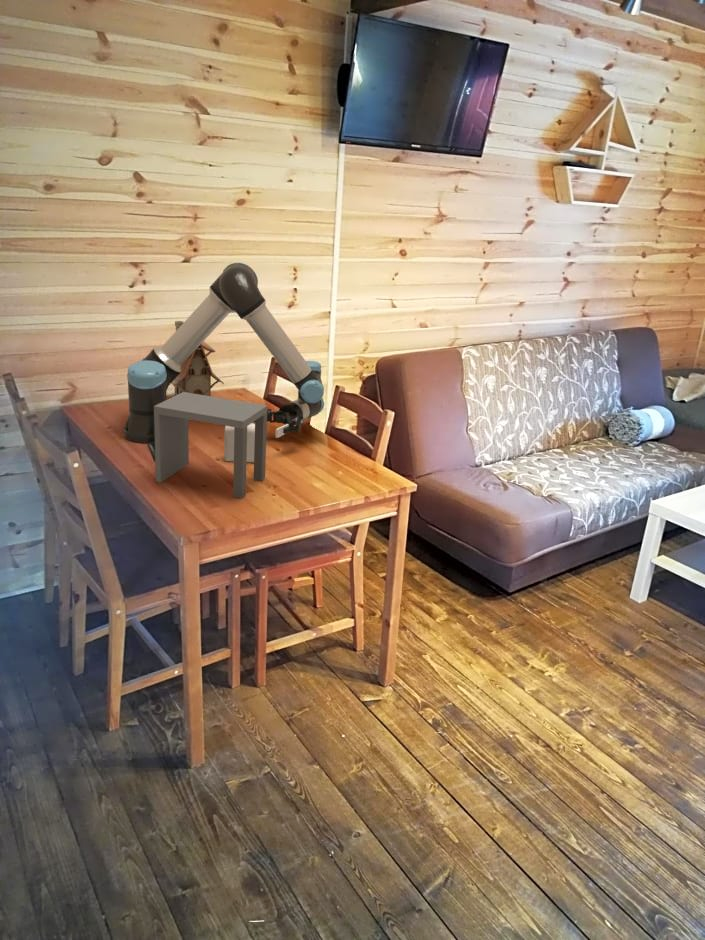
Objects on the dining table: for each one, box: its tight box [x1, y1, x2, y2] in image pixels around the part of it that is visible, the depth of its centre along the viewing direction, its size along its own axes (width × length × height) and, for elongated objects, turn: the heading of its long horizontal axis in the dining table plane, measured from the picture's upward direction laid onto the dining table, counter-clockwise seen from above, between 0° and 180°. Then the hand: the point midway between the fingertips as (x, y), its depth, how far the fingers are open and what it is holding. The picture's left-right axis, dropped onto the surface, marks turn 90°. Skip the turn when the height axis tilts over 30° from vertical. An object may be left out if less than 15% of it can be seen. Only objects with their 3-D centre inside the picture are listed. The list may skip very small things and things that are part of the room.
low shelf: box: [154, 392, 268, 499], centre depth 201 cm, size 26×16×22 cm, turn 74°
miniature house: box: [170, 320, 224, 397], centre depth 259 cm, size 18×24×30 cm
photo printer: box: [223, 423, 255, 463], centre depth 218 cm, size 10×4×12 cm, turn 92°
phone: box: [147, 442, 155, 462], centre depth 222 cm, size 8×1×15 cm
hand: (258, 428), depth 224 cm, fingers open, 13 cm apart
